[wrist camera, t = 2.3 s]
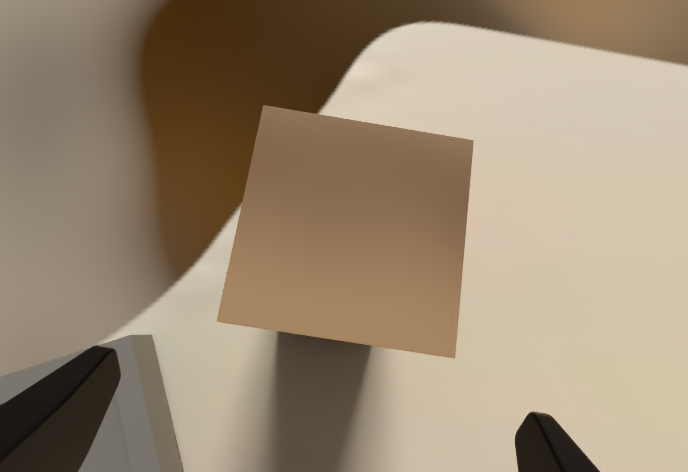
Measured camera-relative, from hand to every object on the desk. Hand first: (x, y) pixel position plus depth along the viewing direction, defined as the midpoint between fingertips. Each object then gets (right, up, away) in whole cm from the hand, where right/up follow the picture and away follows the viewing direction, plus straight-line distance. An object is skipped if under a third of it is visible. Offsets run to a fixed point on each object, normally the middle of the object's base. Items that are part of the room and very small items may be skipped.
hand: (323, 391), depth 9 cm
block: (0, +1, +11) cm, 11 cm away
